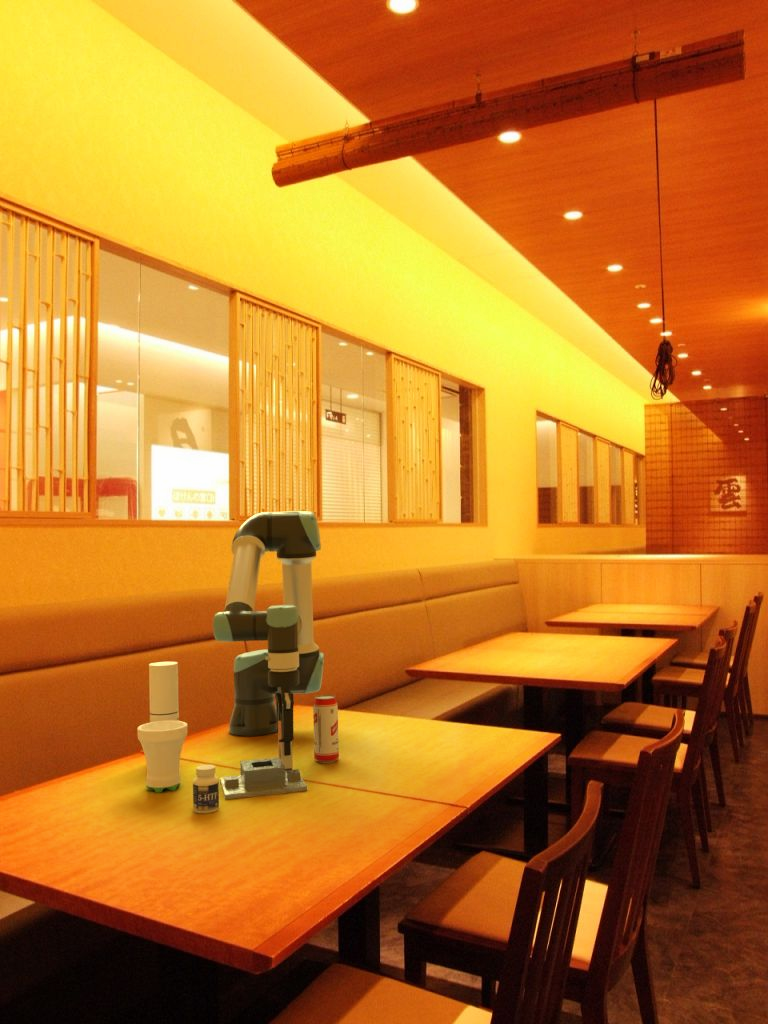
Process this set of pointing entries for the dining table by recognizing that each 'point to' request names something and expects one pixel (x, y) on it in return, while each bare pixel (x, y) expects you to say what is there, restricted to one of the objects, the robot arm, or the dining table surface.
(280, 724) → the rounded pin
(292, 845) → the dining table surface
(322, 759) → the beer can
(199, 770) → the pill bottle
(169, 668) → the cylindrical container
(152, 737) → the cup
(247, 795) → the grey socket base
